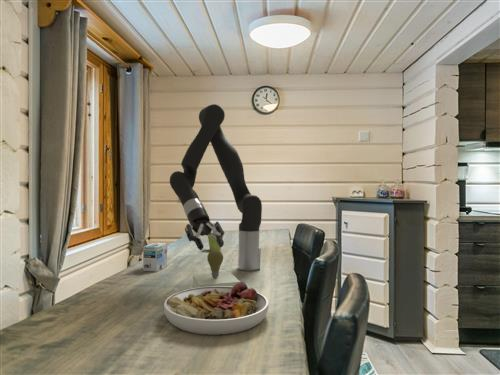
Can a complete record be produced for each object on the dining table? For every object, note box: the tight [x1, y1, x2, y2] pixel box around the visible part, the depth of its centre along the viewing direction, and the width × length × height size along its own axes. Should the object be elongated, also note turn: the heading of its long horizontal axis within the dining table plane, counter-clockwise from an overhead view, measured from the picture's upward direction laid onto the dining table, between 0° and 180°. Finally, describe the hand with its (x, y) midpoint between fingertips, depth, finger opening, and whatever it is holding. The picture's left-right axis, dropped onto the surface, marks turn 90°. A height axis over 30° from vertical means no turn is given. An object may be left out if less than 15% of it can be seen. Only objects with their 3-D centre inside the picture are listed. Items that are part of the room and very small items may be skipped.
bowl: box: [163, 281, 270, 336], centre depth 108 cm, size 30×30×8 cm
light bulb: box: [207, 250, 224, 278], centre depth 131 cm, size 6×6×10 cm
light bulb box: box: [142, 242, 168, 273], centre depth 163 cm, size 11×7×11 cm, turn 168°
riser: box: [192, 271, 241, 288], centre depth 131 cm, size 14×14×5 cm
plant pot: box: [206, 234, 225, 252], centre depth 208 cm, size 9×9×9 cm
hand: (212, 247), depth 133 cm, fingers open, 8 cm apart
